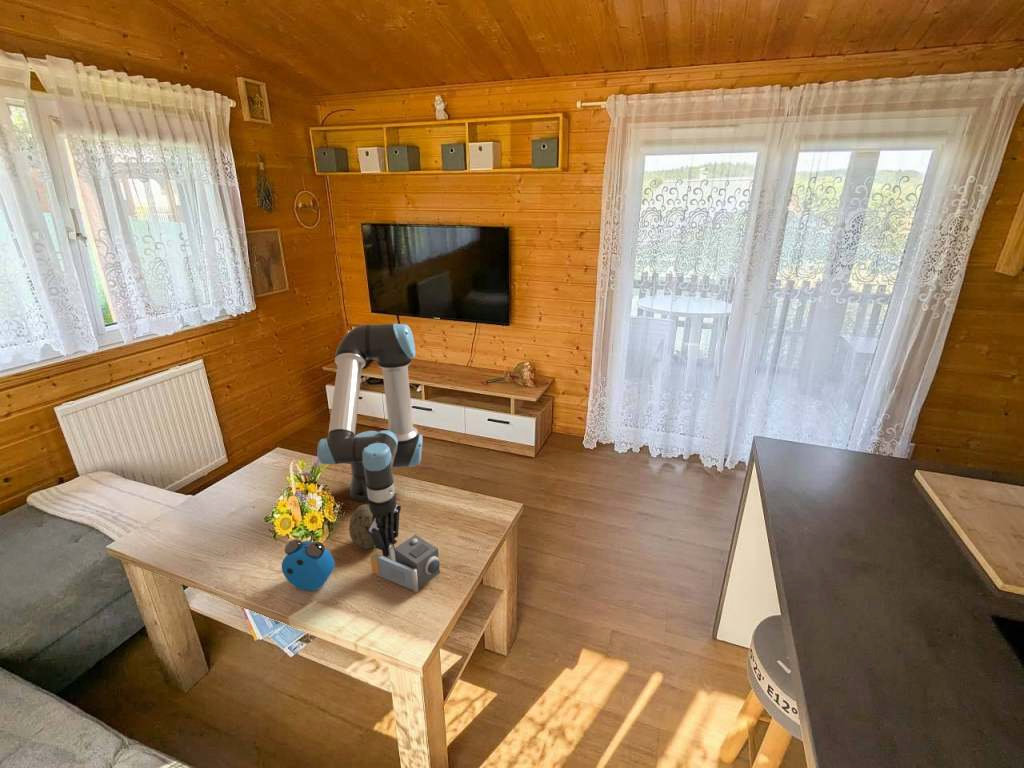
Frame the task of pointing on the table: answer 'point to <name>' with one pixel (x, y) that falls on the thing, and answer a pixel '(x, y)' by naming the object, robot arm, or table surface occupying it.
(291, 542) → the alarm clock
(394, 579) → the side door
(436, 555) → the camera body
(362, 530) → the decorative egg
